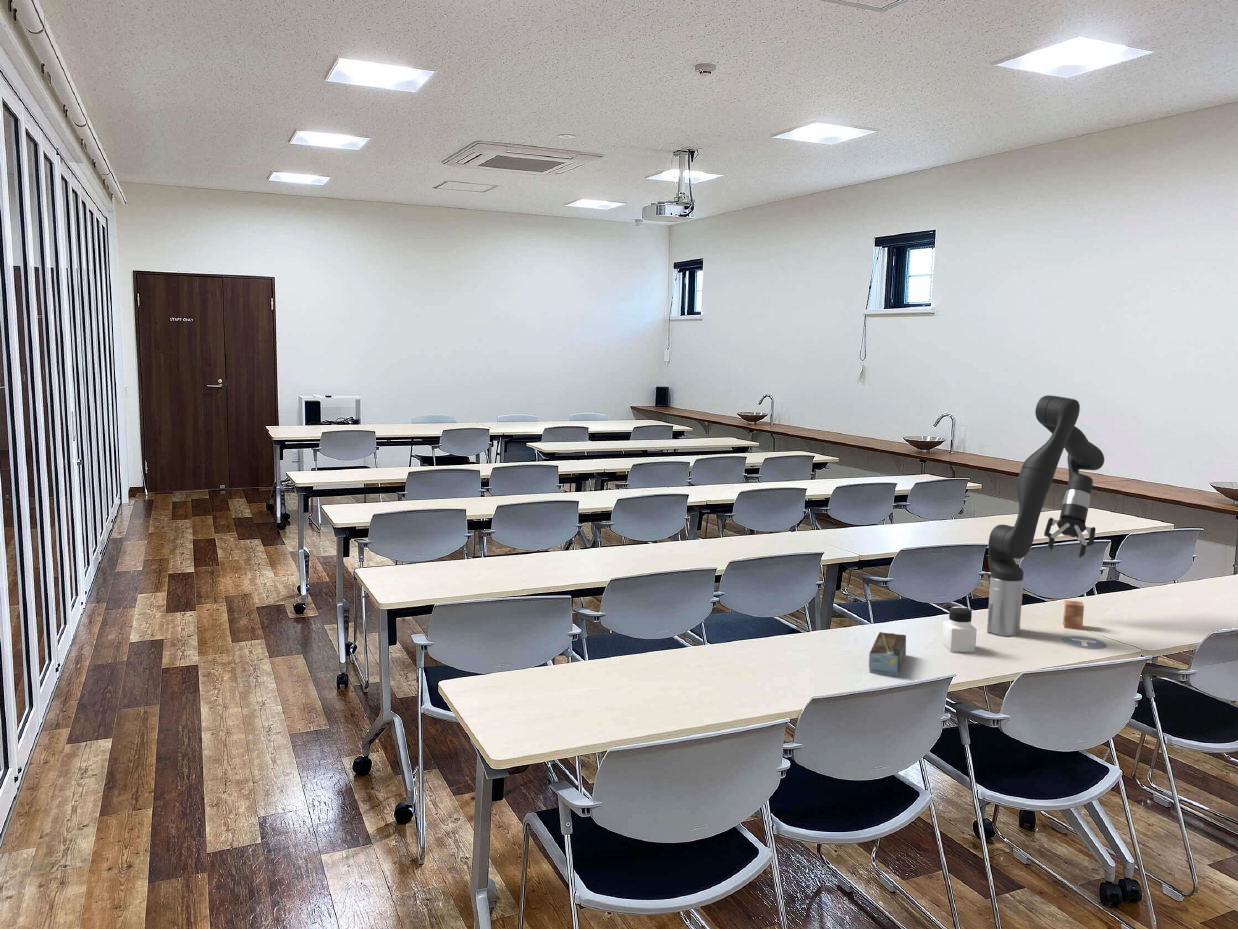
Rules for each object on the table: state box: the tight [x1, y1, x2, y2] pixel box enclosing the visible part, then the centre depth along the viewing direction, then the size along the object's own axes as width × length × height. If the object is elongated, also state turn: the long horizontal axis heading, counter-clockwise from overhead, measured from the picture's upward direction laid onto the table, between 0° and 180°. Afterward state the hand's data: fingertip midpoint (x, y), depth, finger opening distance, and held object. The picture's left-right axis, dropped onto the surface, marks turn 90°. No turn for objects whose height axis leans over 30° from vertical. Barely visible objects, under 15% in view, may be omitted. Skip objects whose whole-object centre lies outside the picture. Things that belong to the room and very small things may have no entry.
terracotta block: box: [1062, 599, 1085, 631], centre depth 274 cm, size 5×5×8 cm
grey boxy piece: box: [868, 631, 907, 678], centre depth 241 cm, size 8×19×7 cm, turn 156°
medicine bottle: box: [941, 606, 977, 653], centre depth 254 cm, size 7×7×12 cm
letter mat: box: [1060, 635, 1108, 650], centre depth 260 cm, size 12×12×1 cm
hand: (1065, 553), depth 280 cm, fingers open, 8 cm apart
